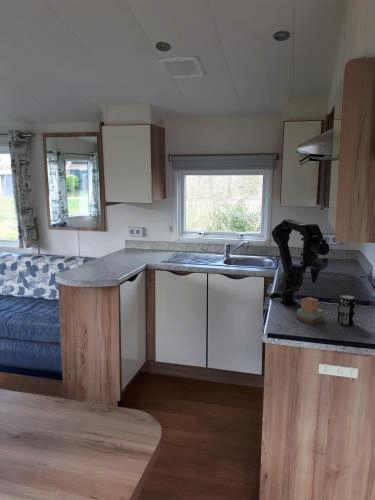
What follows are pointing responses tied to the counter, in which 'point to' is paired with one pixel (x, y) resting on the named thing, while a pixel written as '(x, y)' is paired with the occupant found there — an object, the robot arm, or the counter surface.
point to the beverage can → (346, 310)
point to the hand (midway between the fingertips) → (307, 284)
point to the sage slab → (310, 314)
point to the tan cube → (309, 304)
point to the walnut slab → (309, 319)
